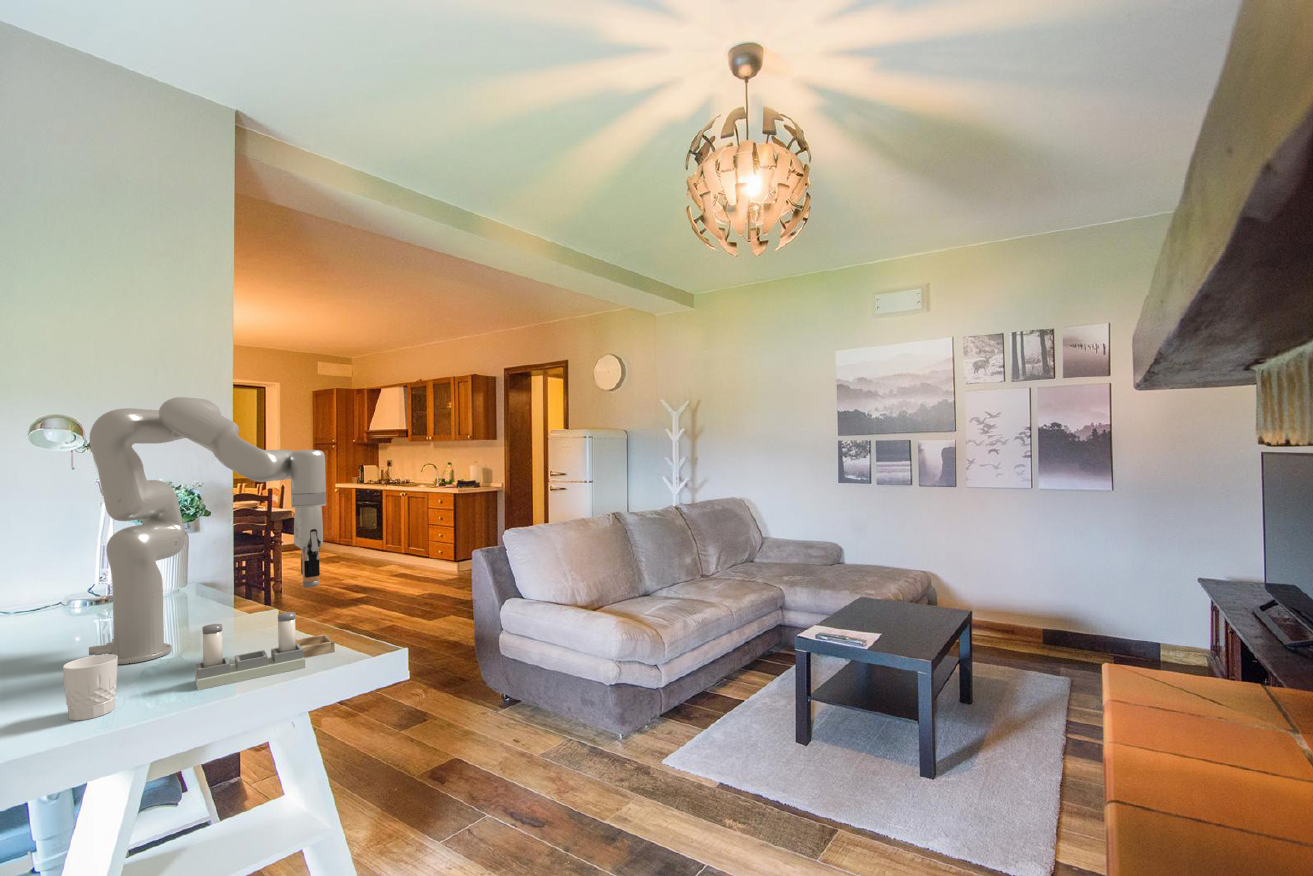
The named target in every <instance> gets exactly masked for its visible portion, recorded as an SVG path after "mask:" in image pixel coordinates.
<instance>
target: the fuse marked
mask: <svg viewBox="0 0 1313 876" xmlns="http://www.w3.org/2000/svg"><path fill="white" fill-rule="evenodd" d="M309 547H311V545H308V548H309ZM308 551H310V550H308ZM301 559H302V570H303V575H302V588H314V587H318V586H319V585H320V582H319V581H320V580H319V576H315V577H307V578H306V577H305V575H304V561H306V557H305V547H304V548H303V549H302V558H301Z"/></svg>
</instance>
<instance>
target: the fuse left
mask: <svg viewBox="0 0 1313 876" xmlns="http://www.w3.org/2000/svg"><path fill="white" fill-rule="evenodd" d="M201 629H202V651H203V652H202V654H203V655H202V656H203V657H202V659H203V661H202V662H203V668H206V667H211V666H217V665H222V664H223V658H224V657H223V624H222V623H212V624H207V625H204V626H203V627H202V628H201Z"/></svg>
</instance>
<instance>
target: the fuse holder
mask: <svg viewBox="0 0 1313 876" xmlns="http://www.w3.org/2000/svg"><path fill="white" fill-rule="evenodd" d="M270 652H271V653H270V655H271V656H268V654H267V653H266V651H265V649H263V650H262V649H261V650H258V651H257V650H256V651H253V652H247V653H241V654H236V655H235V656H234V663H230V660H229V658H228V656H225V657H223V664H222V665H217V666H211V667H206V668H203V661H200V662H196V663H195V667H196V671H194V679H195V685H196V689H197V691H201V690H205V689H209V688H214V687H219V686H224V685H229V684H233V683H239V682H244V681H248V680H253V679H258V678H263V677H267V676H272V675H277V674H281V673H286V672H287V673H288V672H290V671H296V670H301V669H305V668H306V658H304V657H303V648H302V647H301V646H300V645H299V644H296V650H294V651H289V652H284V653H279V646H278V647H273V648H271V649H270Z"/></svg>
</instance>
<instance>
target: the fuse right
mask: <svg viewBox="0 0 1313 876" xmlns="http://www.w3.org/2000/svg"><path fill="white" fill-rule="evenodd" d="M277 634H278V635H277V636H278V637H277V639H278V642H277V643H278V647H279V653H284V652H289V651H294V650H296V640H297V639H296V637H297V636H296V612H295V611H288V612H287V611H286V612H281V613H278V614H277Z"/></svg>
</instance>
